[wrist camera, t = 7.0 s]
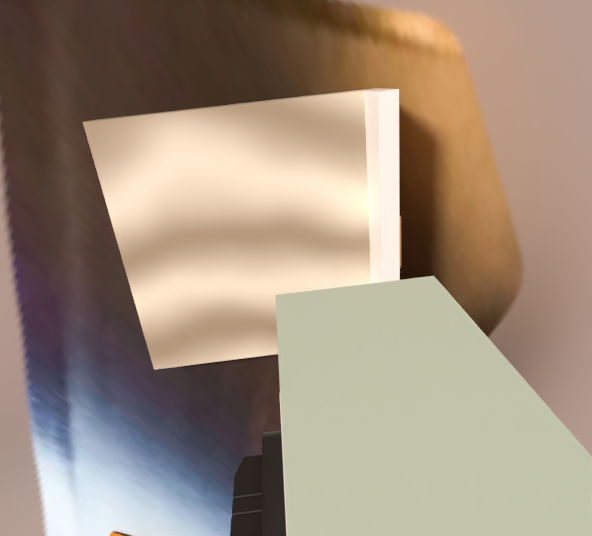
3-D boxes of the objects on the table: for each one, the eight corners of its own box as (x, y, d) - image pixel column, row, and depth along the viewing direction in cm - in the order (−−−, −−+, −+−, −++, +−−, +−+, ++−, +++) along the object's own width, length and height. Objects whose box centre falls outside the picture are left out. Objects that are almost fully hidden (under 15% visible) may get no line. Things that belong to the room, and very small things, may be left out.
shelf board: (386, 328, 31) (404, 366, 27) (159, 356, 30) (142, 399, 26) (381, 87, 24) (405, 88, 20) (93, 119, 24) (57, 127, 20)
